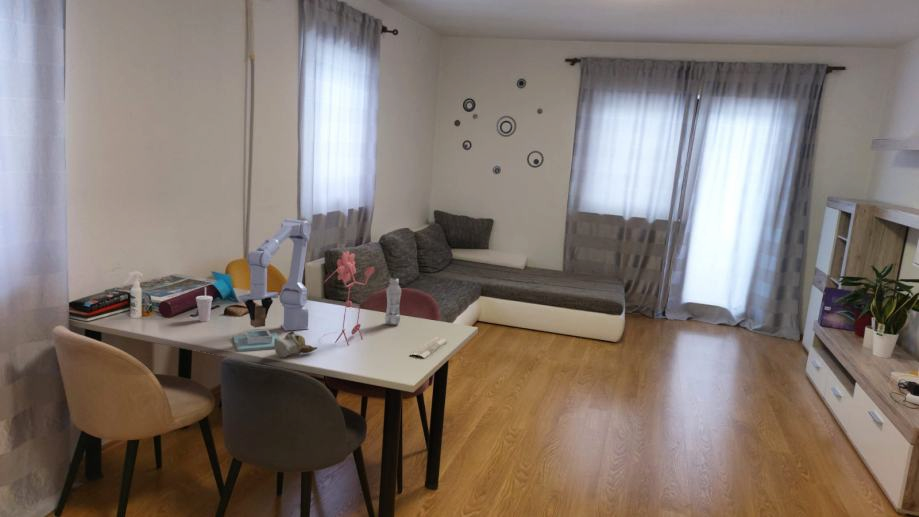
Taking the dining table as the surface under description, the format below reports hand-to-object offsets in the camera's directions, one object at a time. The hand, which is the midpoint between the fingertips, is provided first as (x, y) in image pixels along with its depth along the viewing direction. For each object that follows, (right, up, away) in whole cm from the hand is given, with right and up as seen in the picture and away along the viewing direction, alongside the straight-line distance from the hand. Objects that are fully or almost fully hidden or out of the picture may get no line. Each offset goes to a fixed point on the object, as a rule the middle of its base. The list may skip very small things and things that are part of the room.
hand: (258, 318), depth 232 cm
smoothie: (-30, -3, +25) cm, 39 cm away
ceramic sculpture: (+15, -12, -7) cm, 20 cm away
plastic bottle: (+46, -6, +37) cm, 59 cm away
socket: (-1, -9, +2) cm, 9 cm away
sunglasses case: (-19, -1, +42) cm, 46 cm away
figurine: (+29, -9, +13) cm, 33 cm away
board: (-1, -9, +2) cm, 9 cm away
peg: (0, -3, +1) cm, 3 cm away
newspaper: (+63, -13, +9) cm, 65 cm away
